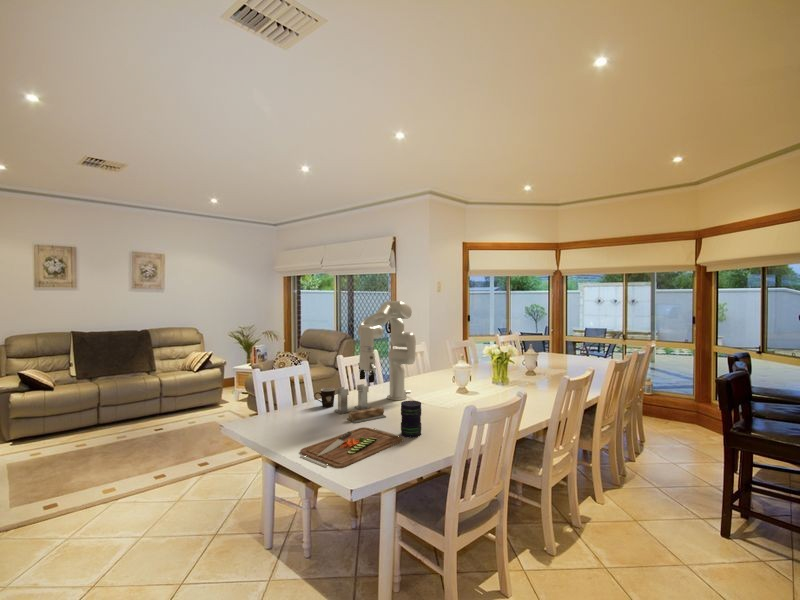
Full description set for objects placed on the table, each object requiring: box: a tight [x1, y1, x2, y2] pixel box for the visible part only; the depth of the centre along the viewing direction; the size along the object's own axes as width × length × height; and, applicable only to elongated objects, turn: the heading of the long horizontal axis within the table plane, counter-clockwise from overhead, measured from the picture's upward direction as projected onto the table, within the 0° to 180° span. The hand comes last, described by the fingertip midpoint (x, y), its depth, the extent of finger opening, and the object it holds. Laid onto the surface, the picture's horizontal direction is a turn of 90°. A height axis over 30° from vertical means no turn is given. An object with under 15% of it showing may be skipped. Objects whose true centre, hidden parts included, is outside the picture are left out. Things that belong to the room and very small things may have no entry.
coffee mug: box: [313, 387, 336, 409], centre depth 244 cm, size 12×9×10 cm
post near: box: [334, 386, 352, 415], centre depth 232 cm, size 7×7×13 cm
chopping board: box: [299, 426, 404, 469], centre depth 180 cm, size 45×27×3 cm, turn 141°
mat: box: [346, 414, 387, 424], centre depth 221 cm, size 19×9×1 cm, turn 124°
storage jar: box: [400, 400, 422, 439], centre depth 195 cm, size 10×10×15 cm
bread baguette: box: [348, 406, 385, 422], centre depth 221 cm, size 20×4×4 cm, turn 124°
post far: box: [354, 383, 372, 411], centre depth 240 cm, size 7×7×13 cm
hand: (366, 380), depth 221 cm, fingers open, 9 cm apart
